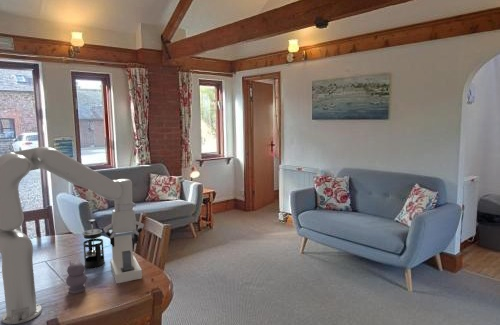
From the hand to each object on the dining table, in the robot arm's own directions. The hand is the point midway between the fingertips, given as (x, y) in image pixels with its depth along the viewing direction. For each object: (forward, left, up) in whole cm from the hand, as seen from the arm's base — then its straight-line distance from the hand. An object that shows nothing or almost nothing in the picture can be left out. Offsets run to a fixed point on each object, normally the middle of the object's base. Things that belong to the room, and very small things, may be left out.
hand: (124, 244), depth 164 cm
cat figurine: (-2, +20, -16) cm, 26 cm away
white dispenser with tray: (+6, -1, -16) cm, 17 cm away
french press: (+22, +11, -16) cm, 30 cm away
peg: (0, -1, -16) cm, 16 cm away
